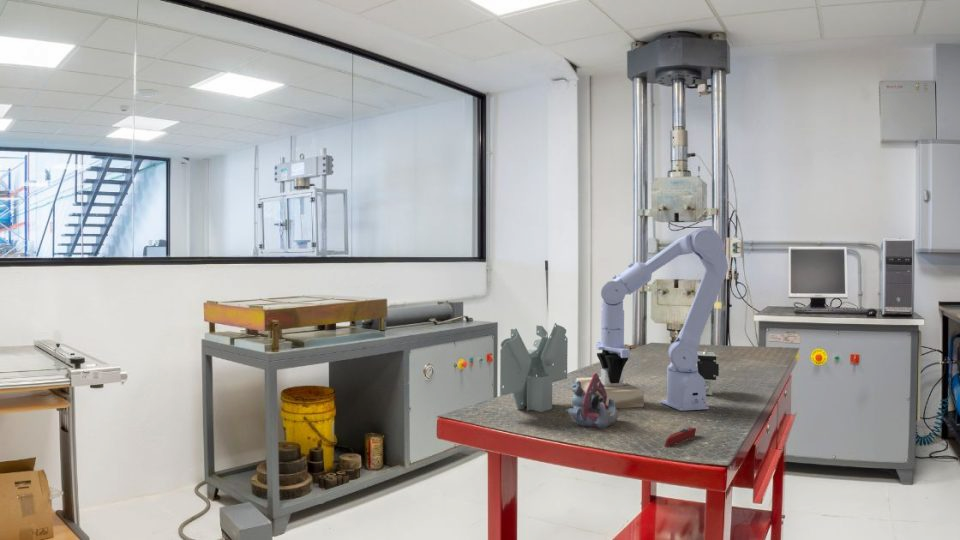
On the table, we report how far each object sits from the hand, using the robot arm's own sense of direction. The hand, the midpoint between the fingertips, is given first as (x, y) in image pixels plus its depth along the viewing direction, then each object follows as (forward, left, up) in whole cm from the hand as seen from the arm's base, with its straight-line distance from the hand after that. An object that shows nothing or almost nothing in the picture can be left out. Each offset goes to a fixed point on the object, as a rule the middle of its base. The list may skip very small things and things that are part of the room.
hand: (611, 381), depth 155 cm
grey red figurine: (-18, +13, -5) cm, 23 cm away
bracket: (-2, +21, -5) cm, 22 cm away
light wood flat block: (+2, 0, -5) cm, 5 cm away
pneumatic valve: (+2, -29, -5) cm, 30 cm away
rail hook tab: (0, 0, -4) cm, 4 cm away
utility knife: (-34, +2, -5) cm, 34 cm away
